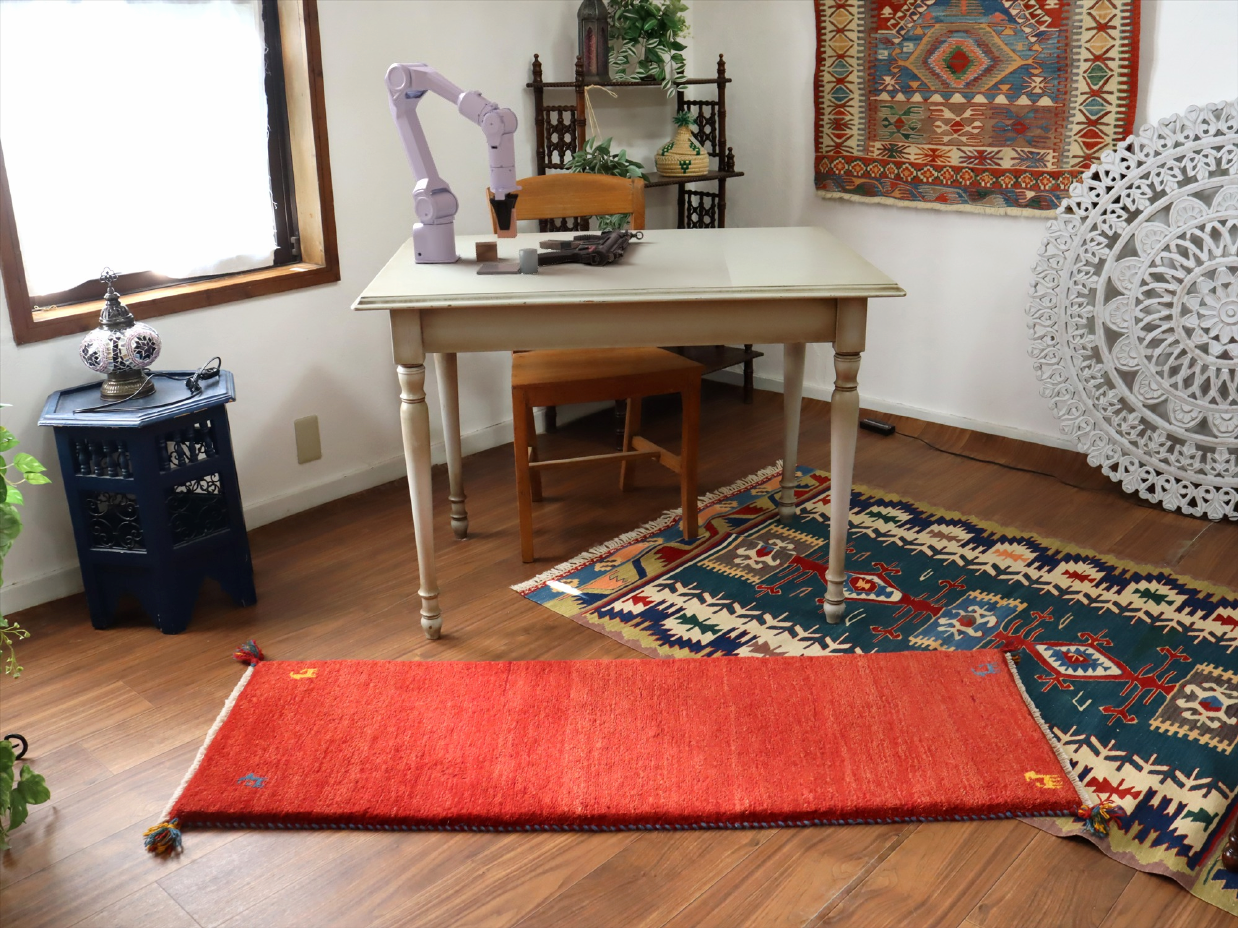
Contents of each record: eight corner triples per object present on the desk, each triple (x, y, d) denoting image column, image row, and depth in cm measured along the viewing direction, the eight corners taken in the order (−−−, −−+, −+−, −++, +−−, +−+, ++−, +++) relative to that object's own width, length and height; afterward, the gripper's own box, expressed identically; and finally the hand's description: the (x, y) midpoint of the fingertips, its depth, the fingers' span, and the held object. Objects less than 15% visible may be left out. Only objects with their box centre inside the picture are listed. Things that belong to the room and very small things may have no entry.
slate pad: (476, 274, 234) (476, 271, 233) (483, 266, 242) (483, 264, 242) (517, 273, 233) (517, 271, 233) (522, 266, 242) (522, 263, 241)
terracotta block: (497, 238, 238) (496, 211, 236) (499, 235, 242) (498, 208, 240) (515, 238, 238) (513, 211, 236) (517, 235, 242) (516, 208, 239)
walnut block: (476, 262, 248) (475, 245, 246) (476, 259, 252) (475, 242, 250) (498, 261, 248) (496, 244, 247) (497, 258, 252) (496, 241, 251)
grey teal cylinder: (519, 274, 233) (517, 251, 231) (521, 271, 236) (520, 248, 235) (537, 274, 232) (536, 251, 231) (539, 270, 236) (538, 248, 234)
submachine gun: (547, 230, 270) (643, 225, 266) (548, 247, 272) (644, 242, 268) (516, 253, 240) (625, 247, 236) (518, 272, 242) (626, 267, 238)
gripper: (516, 169, 227) (520, 233, 232) (523, 162, 241) (527, 223, 246) (483, 170, 227) (488, 234, 232) (493, 163, 241) (497, 223, 246)
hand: (506, 228), depth 239 cm, fingers closed on terracotta block, 4 cm apart
